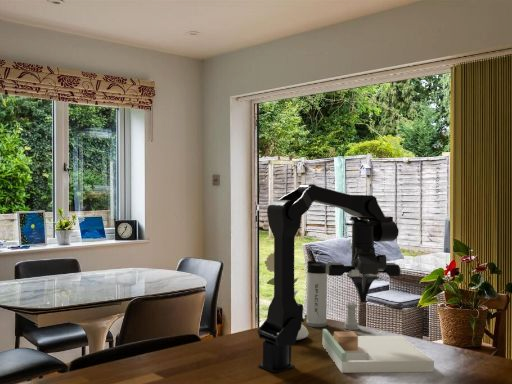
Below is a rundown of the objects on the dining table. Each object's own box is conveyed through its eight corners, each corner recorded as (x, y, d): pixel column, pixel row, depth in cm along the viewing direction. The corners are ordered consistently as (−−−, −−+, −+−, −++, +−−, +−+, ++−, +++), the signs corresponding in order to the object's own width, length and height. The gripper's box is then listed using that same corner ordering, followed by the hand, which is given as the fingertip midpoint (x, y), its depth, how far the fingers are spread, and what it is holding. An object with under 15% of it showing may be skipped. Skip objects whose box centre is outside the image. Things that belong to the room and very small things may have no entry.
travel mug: (314, 321, 179) (314, 260, 179) (330, 325, 174) (331, 262, 174) (301, 324, 174) (302, 261, 174) (317, 328, 170) (318, 263, 170)
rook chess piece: (348, 326, 173) (348, 300, 173) (361, 328, 171) (361, 302, 171) (341, 328, 170) (341, 302, 170) (353, 331, 167) (354, 304, 167)
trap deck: (341, 372, 128) (341, 353, 128) (322, 345, 151) (322, 328, 151) (433, 371, 129) (434, 352, 129) (400, 344, 152) (401, 328, 152)
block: (338, 350, 137) (338, 336, 137) (333, 345, 142) (333, 331, 142) (357, 350, 137) (357, 336, 137) (352, 345, 142) (352, 331, 142)
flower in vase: (311, 335, 162) (312, 249, 162) (305, 345, 150) (306, 253, 151) (267, 331, 165) (268, 248, 165) (259, 341, 153) (260, 252, 154)
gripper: (333, 245, 136) (332, 308, 136) (407, 245, 137) (407, 308, 137) (325, 241, 148) (325, 299, 148) (394, 241, 148) (393, 299, 148)
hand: (362, 302), depth 145 cm, fingers closed
